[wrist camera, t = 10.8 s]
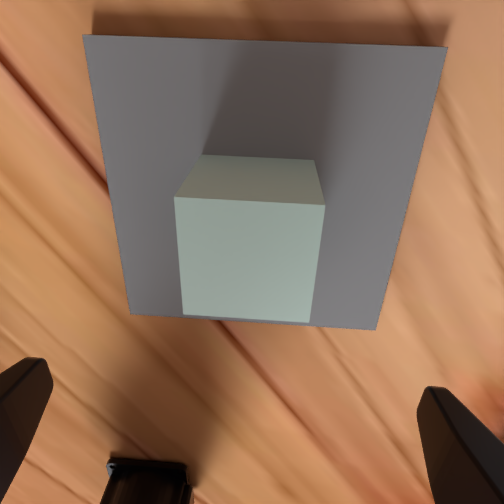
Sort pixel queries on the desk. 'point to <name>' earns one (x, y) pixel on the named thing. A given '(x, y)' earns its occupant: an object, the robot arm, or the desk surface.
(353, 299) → the rubber mat
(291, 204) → the cube
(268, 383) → the desk surface
